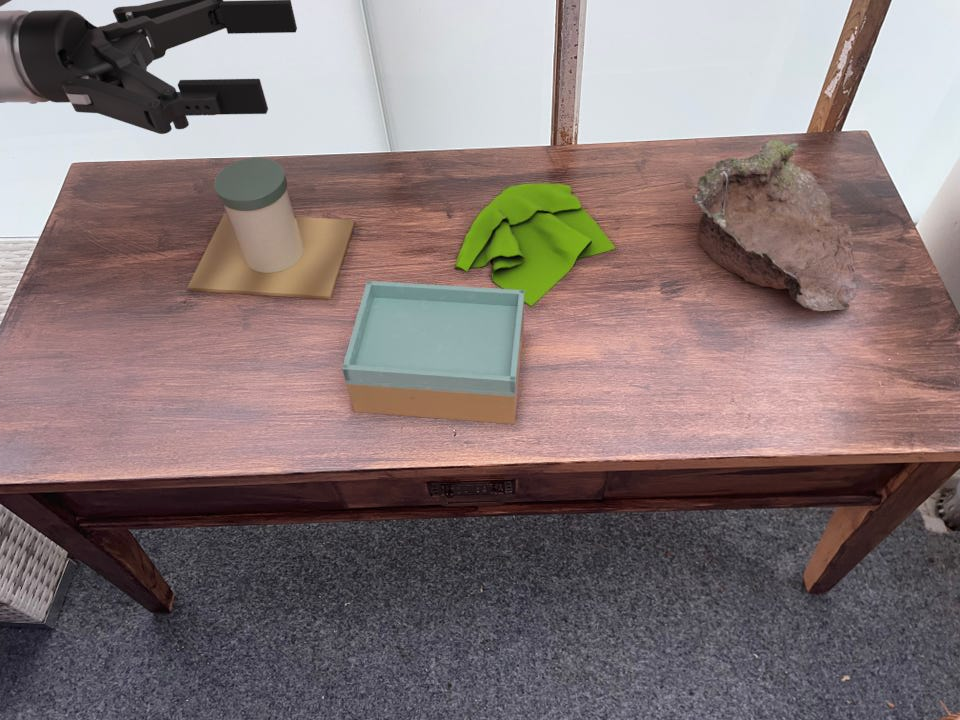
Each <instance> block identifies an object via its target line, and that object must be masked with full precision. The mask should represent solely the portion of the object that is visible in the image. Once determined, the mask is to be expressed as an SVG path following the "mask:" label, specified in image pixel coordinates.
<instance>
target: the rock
mask: <svg viewBox="0 0 960 720" xmlns="http://www.w3.org/2000/svg"><path fill="white" fill-rule="evenodd" d="M797 147H799V144H798V143H796V142H795V143H790V144H785V142H784V141H782V140H779V139H771V140H769V141H768V142H767V143H766V142H765V143H763V145H762V146H761V147H760V148H759V153H757V154H753V155H751V156H749V157H747V156H746V157H744V158H743V157H742V158H737V157H732V158H726V159H721V160H720V161H717V162H716V164H715V165H714V166H711V168H709V169H706V170H705V172H704V173H705V175H702V176H700V178H699V180H697V184H696V185H697V186H696V187H697V190H696V192H697V193H695V194H694V195H692V199H693V201H692V202H694V204H697V207H698V208H699V209H700V210H701V212H702V215H701V218H700V220H699V222H698V227H697V231H696V232H697V233H696V240H697V242H698V243H699V244H700V245H701V248H702V250H703V251H704V252H705V253H707V254H708V256H709V257H710V258H711V259H712V260H713V262H715V263H716V264H717V265H719V266H721V267H722V268H724V269H726V270H727V271H728V272H730V273H732V274H736V275H738V276H739V277H741V278H743V279H744V281H745V282H748V283H751V284H755V285H757V286H759V287H765V288H766V287H768V288H769V287H770V288H773V289H775V290H784V289H785V290H786V289H788V293H789V296H790V298H791V299H792V300H794V301H795V302H796V303H798V304H799V305H801V306H802V307H804V308H806V309H810V310H812V311H817V312H831V311H837V310H839V311H842V310H847V309H848V308H850V306H851V305H850V304H849V302H850V301H851V300H852V299H853V298H854V297H856V290H857V287H858V284H857V278H856V275H855V270H856V264H855V257H854V253H853V245H854V241H853V231H852V227H851V226H850V224H848V223H847V222H841V221H837V220H836V219H835V218H834V217H832V215H831V214H832V210H831V206H832V205H831V203H832V202H831V199H830V197H828V196H827V193H826V191H825V190H824V189H823V188H822V185H820V184H819V182H818V180H817V178H816V177H815V175H814V173H812V172H811V171H810V170H808V169H804V168H803V167H801V166H799V165H797V164H795V163H793V162H790V161H789V160H790V159H791V158H794V157H793V156H794V153H793V152H796V151H797V149H796V148H797Z"/></svg>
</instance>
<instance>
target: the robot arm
mask: <svg viewBox="0 0 960 720" xmlns="http://www.w3.org/2000/svg"><path fill="white" fill-rule="evenodd" d="M11 1H12V0H0V8H1V7H2V6H4V5H6V4H8V3H9V2H11ZM112 14H113V15H114V19H115V20H116V21H115V22H111V23H108V24H105V25H100V26H96V25H94V24H92V23H91V22H90V21H88V20H87V19H86V18H85V17H84V16H83V15H82V14H81V13H78V12H76V11H74V10H70V9H51V10H50V9H49V10H47V9H46V10H45V9H44V10H32V11H28V10H24V9H23V10H21V9H18V10H17V9H16V10H15V9H14V10H0V104H1V103H2V104H4V103H29V104H31V105H35V104H38V103H47V102H52V103H58V104H59V103H70V104H71V106H72V108H73V110H74V111H75V112H76V113H83V114H84V113H85V114H99V115H101V116H104V117H108V118H111V119H114V120H117V121H120V122H122V123H126V124H128V125H132V126H135V127H138V128H141V129H144V130H147V131H149V132H153V133H156V134H159V135H165V134H169V133H170V132H171V131H172V129H173V128H172V125H171V124H173V126H174V128H175V129H176V130H184V129H186V128H188V127H189V125H190V123H189V119H188V117H189V116H190V117H191V116H217V115H218V116H219V115H267V113H268V111H269V107H268V103H267V100H266V96H265V92H264V89H263V86H262V82H261V79H260V78H219V79H218V78H217V79H216V78H214V79H211V78H210V79H179V81H178V83H177V88H178V91H177V89H176V88H175V86H174V85H171V84H170V83H168V82H166V81H165V80H163V79H161V78H160V77H158V76H156V75H155V74H153V73H151V72H150V71H148V67H149V65H151V64H152V62H153V61H157V60H158V59H161V58H163V57H164V56H166V52H167V50H169V49H172V48H175V47H179V46H181V45H184V44H187V43H189V42H192V41H194V40H197V39H200V38H203V37H205V36H208V35H212V34H213V33H216V32H219V31H221V30H225V29H226V32H227V34H228V35H234V34H235V35H236V34H237V35H238V34H285V33H286V34H287V33H291V34H292V33H297V30H298V27H297V21H296V17H295V14H294V9H293V5H292V0H157V1H153V2H148V3H143V4H138V5H127V6H118V7H115V8H114V9H112Z"/></svg>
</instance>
